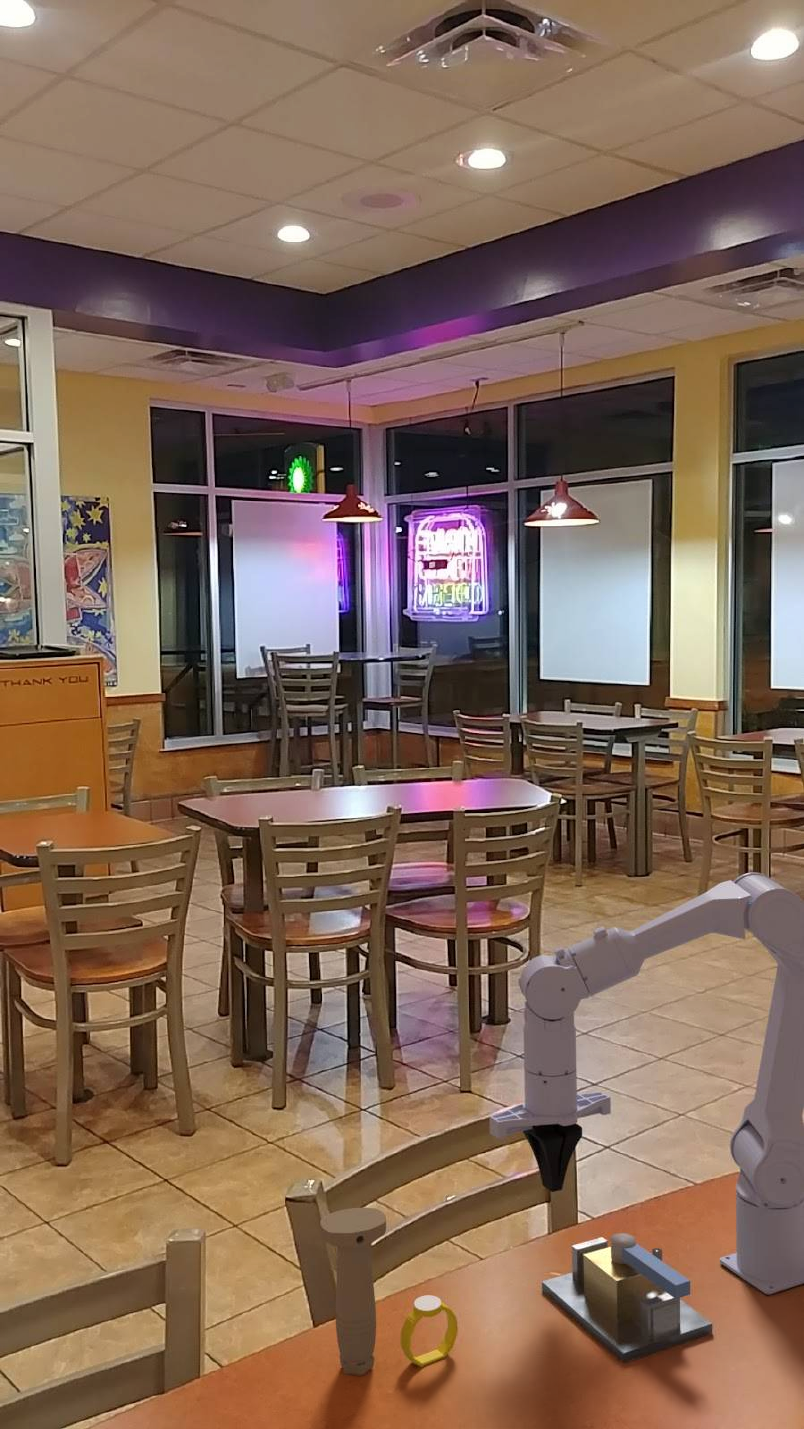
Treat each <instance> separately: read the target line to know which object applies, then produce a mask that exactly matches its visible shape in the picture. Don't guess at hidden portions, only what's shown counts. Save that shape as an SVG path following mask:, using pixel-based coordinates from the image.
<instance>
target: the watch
mask: <svg viewBox="0 0 804 1429" xmlns="http://www.w3.org/2000/svg"><path fill="white" fill-rule="evenodd" d="M442 1311H444V1312H445V1314H446V1319H447V1328H446V1332H445V1335H444V1339H443V1340H442V1341H441V1342H440V1344H439V1345H438V1347H437V1349H434V1350H431V1351H428V1352H427V1353H424V1354H421V1355H418V1356H414V1354H413V1352H412V1350H411V1343H412V1342H411V1339H412V1335H413V1332H414V1330H415V1327H416V1324H418V1322H419V1321H420V1320H421V1319H422V1318H423V1317H424V1318H431V1317H435V1316H437V1315H439V1314H440V1313H441V1312H442ZM458 1331H459V1330H458V1319H457V1316H456V1314H455V1313H454V1312H453V1310H452V1309H451V1308H450V1307H449V1306H447V1305H446V1304H445V1303H444V1302H442V1300H441V1299H440V1297H438V1296H436V1295H429V1294H428V1295H422V1296H419V1297H417V1298H416V1299H415V1300H414V1302H413V1309H412V1310H411V1311H410V1312H409V1314H408V1315H407V1316H406V1318H405V1321H404V1323H403V1325H402V1328H401V1331H400V1347H401V1349H402V1351H403V1354H404V1356H405V1357H406V1359H408V1360H409V1361H410V1362H412V1363H413V1364H414V1365H416V1366H418V1367H419V1368H425V1366H427V1365H429V1364H432V1363H435V1362H437V1361H439V1360H441V1359H445V1358H446V1357H447V1356H448V1354H449V1353H450V1351H451V1350H452V1348H453V1347H454V1345H455V1342H456V1339H457V1336H458Z"/></svg>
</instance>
